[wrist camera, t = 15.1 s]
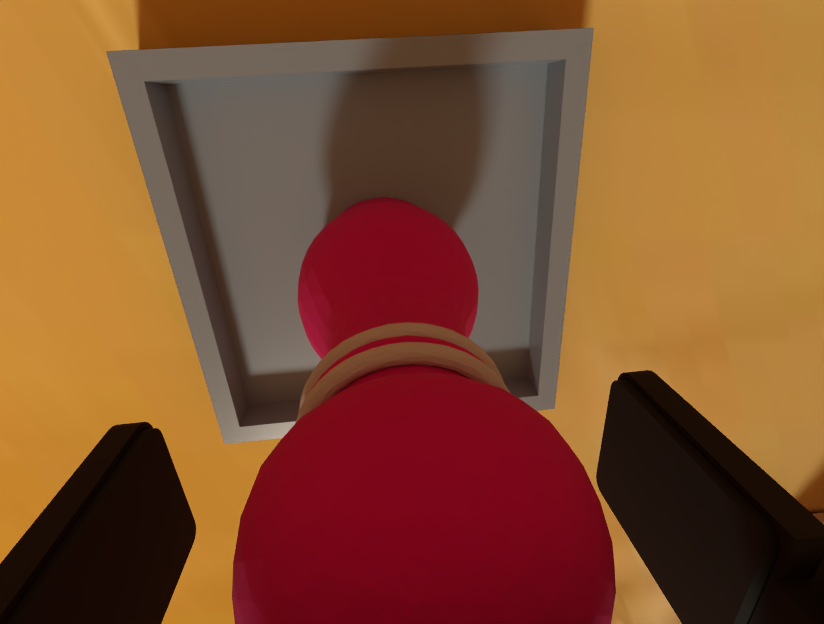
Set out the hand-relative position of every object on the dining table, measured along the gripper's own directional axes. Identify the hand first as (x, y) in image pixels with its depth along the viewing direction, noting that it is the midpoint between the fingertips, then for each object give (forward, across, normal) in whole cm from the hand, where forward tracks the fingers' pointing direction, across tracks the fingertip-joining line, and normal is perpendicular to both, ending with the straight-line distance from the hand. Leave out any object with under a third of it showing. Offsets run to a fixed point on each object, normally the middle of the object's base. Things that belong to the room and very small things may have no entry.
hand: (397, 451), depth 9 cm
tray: (+14, 0, 0) cm, 14 cm away
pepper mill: (+14, 0, 0) cm, 14 cm away
